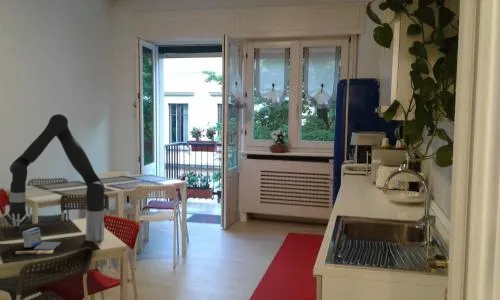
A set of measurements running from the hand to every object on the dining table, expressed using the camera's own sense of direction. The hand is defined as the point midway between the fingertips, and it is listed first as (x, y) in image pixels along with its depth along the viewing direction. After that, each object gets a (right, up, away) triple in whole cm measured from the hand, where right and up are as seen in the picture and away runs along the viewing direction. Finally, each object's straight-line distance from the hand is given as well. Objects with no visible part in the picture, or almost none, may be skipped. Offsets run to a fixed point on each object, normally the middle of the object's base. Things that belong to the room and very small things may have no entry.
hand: (17, 232), depth 223 cm
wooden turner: (+15, -9, -9) cm, 19 cm away
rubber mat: (+15, -8, +2) cm, 17 cm away
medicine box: (+8, -7, +1) cm, 11 cm away
